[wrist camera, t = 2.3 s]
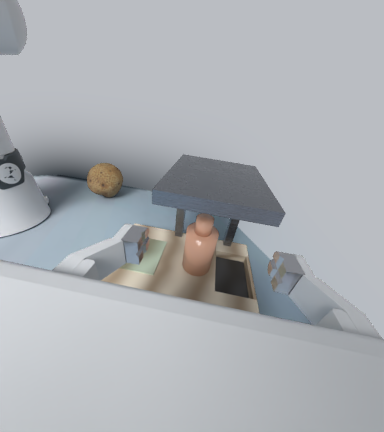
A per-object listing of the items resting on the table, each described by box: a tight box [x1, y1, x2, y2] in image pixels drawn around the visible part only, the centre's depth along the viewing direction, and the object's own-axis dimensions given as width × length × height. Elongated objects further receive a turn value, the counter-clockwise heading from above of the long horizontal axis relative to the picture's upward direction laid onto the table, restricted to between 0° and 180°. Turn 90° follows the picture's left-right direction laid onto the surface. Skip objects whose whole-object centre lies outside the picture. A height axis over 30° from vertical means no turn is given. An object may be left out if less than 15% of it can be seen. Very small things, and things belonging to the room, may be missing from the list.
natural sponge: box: [87, 163, 123, 197], centre depth 47 cm, size 9×9×10 cm
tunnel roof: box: [152, 155, 285, 247], centre depth 25 cm, size 12×15×16 cm
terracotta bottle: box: [182, 213, 219, 276], centre depth 27 cm, size 5×5×10 cm
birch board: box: [101, 224, 260, 314], centre depth 30 cm, size 25×16×2 cm, turn 81°
